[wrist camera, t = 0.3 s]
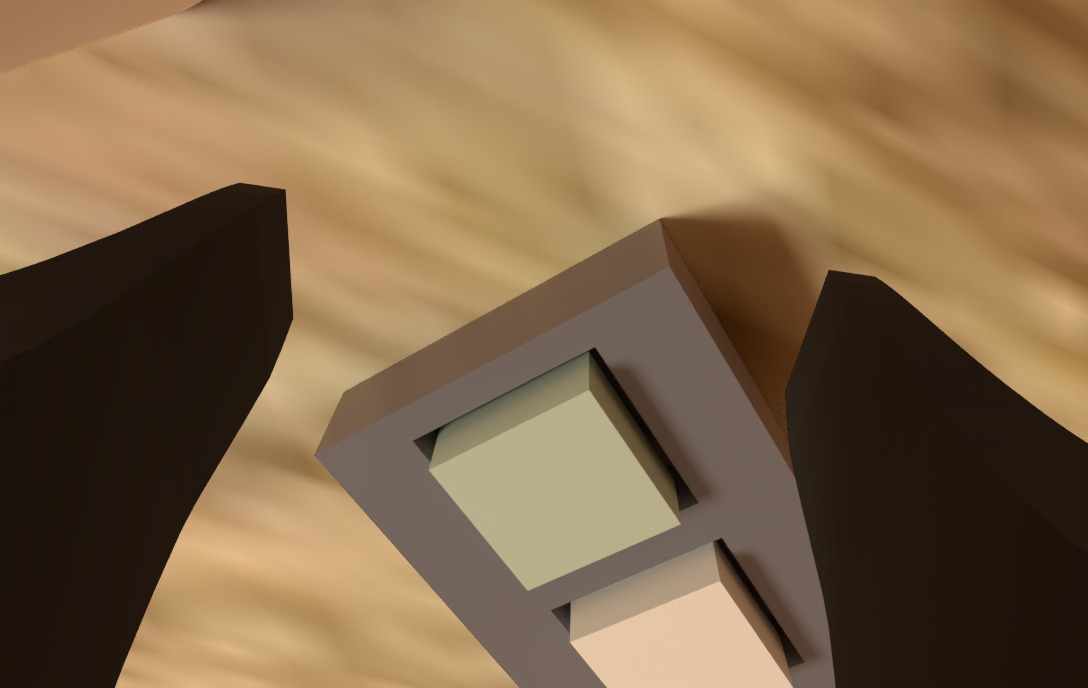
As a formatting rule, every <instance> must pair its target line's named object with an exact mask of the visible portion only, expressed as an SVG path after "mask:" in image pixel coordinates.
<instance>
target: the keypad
mask: <svg viewBox="0 0 1088 688" xmlns="http://www.w3.org/2000/svg"><path fill="white" fill-rule="evenodd" d="M588 351H589V352H590V354H591V355H592V357H593V358H594V360H595V361H596V362H597V364H598V365H599V367H600V368H601V370H602V371H603V373H604V374H605V376H606V377H607V379H608V380H609V382H610V383H611V385H612V386H613V388H614V389H615V391H616V392H617V394H618V395H619V397H620V398H621V400H622V401H623V403H624V404H625V406H626V407H627V409H628V410H629V412H630V413H631V415H632V416H633V418H634V419H635V421H636V422H637V424H638V425H639V427H640V428H641V430H642V431H643V433H644V434H645V436H646V437H647V439H648V440H649V442H650V443H651V445H652V446H653V448H654V449H655V451H656V452H657V454H658V455H659V457H660V458H661V460H662V461H663V463H664V464H665V466H666V467H667V468H668V470H669V471H670V473H671V474H672V476H673V477H674V479H675V486H676V493H677V499H678V506H679V513H680V520H681V525H678V526H676V527H674V528H671V529H669V530H667V531H664V532H662V533H660V534H658V535H655V536H653V537H651V538H648V539H646V540H644V541H641V542H639V543H637V544H635V545H632V546H630V547H628V548H625V549H623V550H621V551H618V552H616V553H614V554H612V555H609V556H607V557H605V558H602V559H600V560H598V561H595V562H593V563H591V564H589V565H586V566H584V567H582V568H579V569H577V570H575V571H572V572H570V573H568V574H566V575H563V576H561V577H559V578H556V579H554V580H552V581H549V582H547V583H545V584H543V585H540V586H538V587H536V588H533V589H531V590H529V591H527V589H526V588H525V587H524V586H523V585H522V583H521V582H520V581H519V580H518V578H517V577H516V576H515V575H514V574H513V572H512V571H511V570H510V569H509V567H508V566H507V565H506V564H505V563H504V561H503V560H502V559H501V558H500V556H499V555H498V554H497V553H496V552H495V550H494V549H493V548H492V547H491V546H490V544H489V543H488V542H487V541H486V539H485V538H484V537H483V536H482V535H481V533H480V532H479V531H478V530H477V528H476V527H475V526H474V525H473V524H472V522H471V521H470V520H469V519H468V517H467V516H466V515H465V514H464V513H463V511H462V510H461V509H460V508H459V506H458V505H457V504H456V503H455V502H454V500H453V499H452V498H451V497H450V495H449V494H448V493H447V492H446V491H445V489H444V488H443V487H442V486H441V484H440V483H439V482H438V481H437V480H436V478H435V477H434V476H433V475H432V473H431V472H430V471H429V467H430V463H431V459H432V456H433V452H434V448H435V444H436V441H437V437H438V433H439V429H440V427H442V426H444V425H446V424H448V423H450V422H452V421H454V420H456V419H458V418H460V417H462V416H464V415H466V414H468V413H470V412H471V411H473V410H475V409H477V408H479V407H481V406H483V405H485V404H487V403H489V402H491V401H493V400H495V399H497V398H499V397H501V396H503V395H505V394H506V393H508V392H510V391H512V390H514V389H516V388H518V387H520V386H522V385H524V384H526V383H528V382H530V381H532V380H534V379H536V378H538V377H539V376H541V375H543V374H545V373H547V372H549V371H551V370H553V369H555V368H557V367H559V366H561V365H563V364H565V363H567V362H569V361H571V360H573V359H574V358H576V357H578V356H580V355H582V354H584V353H586V352H588ZM315 456H316V457H317V459H318V460H319V461H320V462H321V463H322V464H323V465H324V466H325V468H326V469H327V470H328V471H329V472H330V473H331V474H332V476H333V477H334V478H335V479H336V480H337V481H338V482H339V483H340V485H341V486H342V487H343V488H344V489H345V490H346V491H347V493H348V494H349V495H350V496H351V497H352V498H353V499H354V500H355V502H356V503H357V504H358V505H359V506H360V507H361V508H362V510H363V511H364V512H365V513H366V514H367V515H368V516H369V518H370V519H371V520H372V521H373V522H374V523H375V524H376V525H377V527H378V528H379V529H380V530H381V531H382V532H383V533H384V535H385V536H386V537H387V538H388V539H389V540H390V541H391V542H392V544H393V545H394V546H395V547H396V548H397V549H398V550H399V552H400V553H401V554H402V555H403V556H404V557H405V558H406V559H407V561H408V562H409V563H410V564H411V565H412V566H413V567H414V569H415V570H416V571H417V572H418V573H419V574H420V575H421V576H422V578H423V579H424V580H425V581H426V582H427V583H428V584H429V586H430V587H431V588H432V589H433V590H434V591H435V592H436V593H437V595H438V596H439V597H440V598H441V599H442V600H443V601H444V603H445V604H446V605H447V606H448V607H449V608H450V609H451V610H452V612H453V613H454V614H455V615H456V616H457V617H458V618H459V620H460V621H461V622H462V623H463V624H464V625H465V626H466V627H467V629H468V630H469V631H470V632H471V633H472V634H473V635H474V637H475V638H476V639H477V640H478V641H479V642H480V643H481V644H482V646H483V647H484V648H485V649H486V650H487V651H488V652H489V654H490V655H491V656H492V657H493V658H494V659H495V660H496V661H497V663H498V664H499V665H500V666H501V667H502V668H503V669H504V671H505V672H506V673H507V674H508V675H509V676H510V677H511V678H512V680H513V681H514V682H515V683H516V684H517V685H518V686H519V688H607V687H606V686H605V685H604V683H603V682H602V681H601V680H600V679H599V677H598V676H597V675H596V674H595V672H594V671H593V670H592V669H591V668H590V666H589V665H588V664H587V663H586V661H585V660H584V659H583V658H582V657H581V655H580V654H579V653H578V652H577V650H576V649H575V648H574V647H573V646H572V644H571V643H570V616H571V601H574V600H576V599H578V598H581V597H583V596H585V595H588V594H590V593H593V592H595V591H597V590H600V589H602V588H604V587H607V586H609V585H611V584H614V583H616V582H618V581H621V580H623V579H626V578H628V577H630V576H633V575H635V574H637V573H640V572H642V571H644V570H647V569H649V568H652V567H654V566H656V565H659V564H661V563H663V562H666V561H668V560H670V559H673V558H675V557H677V556H680V555H682V554H685V553H687V552H689V551H692V550H694V549H696V548H699V547H701V546H703V545H706V544H708V543H711V542H713V541H715V540H716V542H717V543H718V545H719V546H720V548H721V549H722V551H723V552H724V554H725V555H726V557H727V558H728V560H729V561H730V563H731V564H732V566H733V567H734V569H735V570H736V571H737V573H738V574H739V576H740V577H741V579H742V580H743V582H744V583H745V585H746V586H747V588H748V589H749V591H750V592H751V594H752V595H753V597H754V598H755V600H756V601H757V603H758V604H759V606H760V607H761V609H762V610H763V612H764V613H765V615H766V616H767V618H768V619H769V621H770V622H771V624H772V625H773V627H774V628H775V630H776V631H777V633H778V634H779V636H780V638H781V642H782V646H783V650H784V654H785V658H786V662H787V666H788V670H789V674H790V677H791V681H792V685H793V688H836V686H835V678H834V669H833V661H832V652H831V643H830V635H829V627H828V621H827V616H826V610H825V605H824V600H823V594H822V590H821V586H820V582H819V577H818V573H817V569H816V565H815V561H814V556H813V552H812V548H811V544H810V540H809V535H808V531H807V527H806V523H805V519H804V514H803V510H802V506H801V502H800V497H799V493H798V489H797V484H796V480H795V475H794V471H793V466H792V462H791V457H790V451H789V440H788V438H787V436H786V435H785V433H784V431H783V429H782V428H781V426H780V424H779V423H778V421H777V419H776V417H775V416H774V414H773V412H772V411H771V409H770V407H769V406H768V404H767V402H766V400H765V399H764V397H763V395H762V394H761V392H760V390H759V388H758V387H757V385H756V383H755V382H754V380H753V378H752V376H751V375H750V373H749V371H748V370H747V368H746V366H745V364H744V363H743V361H742V359H741V358H740V356H739V354H738V352H737V351H736V349H735V347H734V346H733V344H732V342H731V340H730V339H729V337H728V335H727V334H726V332H725V330H724V328H723V327H722V325H721V323H720V322H719V320H718V318H717V317H716V315H715V313H714V311H713V310H712V308H711V306H710V305H709V303H708V301H707V299H706V298H705V296H704V294H703V293H702V291H701V289H700V287H699V286H698V284H697V282H696V281H695V279H694V277H693V275H692V274H691V272H690V270H689V269H688V267H687V265H686V263H685V262H684V260H683V258H682V257H681V255H680V253H679V251H678V250H677V248H676V246H675V245H674V243H673V241H672V239H671V238H670V236H669V234H668V233H667V231H666V229H665V227H664V226H663V224H662V222H661V221H660V219H658V220H657V221H655V222H653V223H651V224H649V225H647V226H646V227H644V228H642V229H640V230H638V231H637V232H635V233H633V234H631V235H629V236H627V237H626V238H624V239H622V240H620V241H618V242H617V243H615V244H613V245H611V246H609V247H607V248H606V249H604V250H602V251H600V252H598V253H597V254H595V255H593V256H591V257H589V258H587V259H586V260H584V261H582V262H580V263H578V264H577V265H575V266H573V267H571V268H569V269H567V270H566V271H564V272H562V273H560V274H558V275H556V276H555V277H553V278H551V279H549V280H547V281H546V282H544V283H542V284H540V285H538V286H536V287H535V288H533V289H531V290H529V291H527V292H526V293H524V294H522V295H520V296H518V297H516V298H515V299H513V300H511V301H509V302H507V303H506V304H504V305H502V306H500V307H498V308H496V309H495V310H493V311H491V312H489V313H487V314H486V315H484V316H482V317H480V318H478V319H476V320H475V321H473V322H471V323H469V324H467V325H466V326H464V327H462V328H460V329H458V330H456V331H455V332H453V333H451V334H449V335H447V336H445V337H444V338H442V339H440V340H438V341H436V342H435V343H433V344H431V345H429V346H427V347H425V348H424V349H422V350H420V351H418V352H416V353H415V354H413V355H411V356H409V357H407V358H405V359H404V360H402V361H400V362H398V363H396V364H395V365H393V366H391V367H389V368H387V369H385V370H384V371H382V372H380V373H378V374H376V375H375V376H373V377H371V378H369V379H367V380H365V381H364V382H362V383H360V384H358V385H356V386H355V387H353V388H351V389H349V390H347V391H345V392H344V393H343V395H342V397H341V399H340V401H339V403H338V406H337V408H336V410H335V412H334V414H333V416H332V418H331V421H330V423H329V425H328V427H327V429H326V431H325V433H324V435H323V438H322V440H321V442H320V444H319V446H318V448H317V450H316V452H315Z"/></svg>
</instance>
